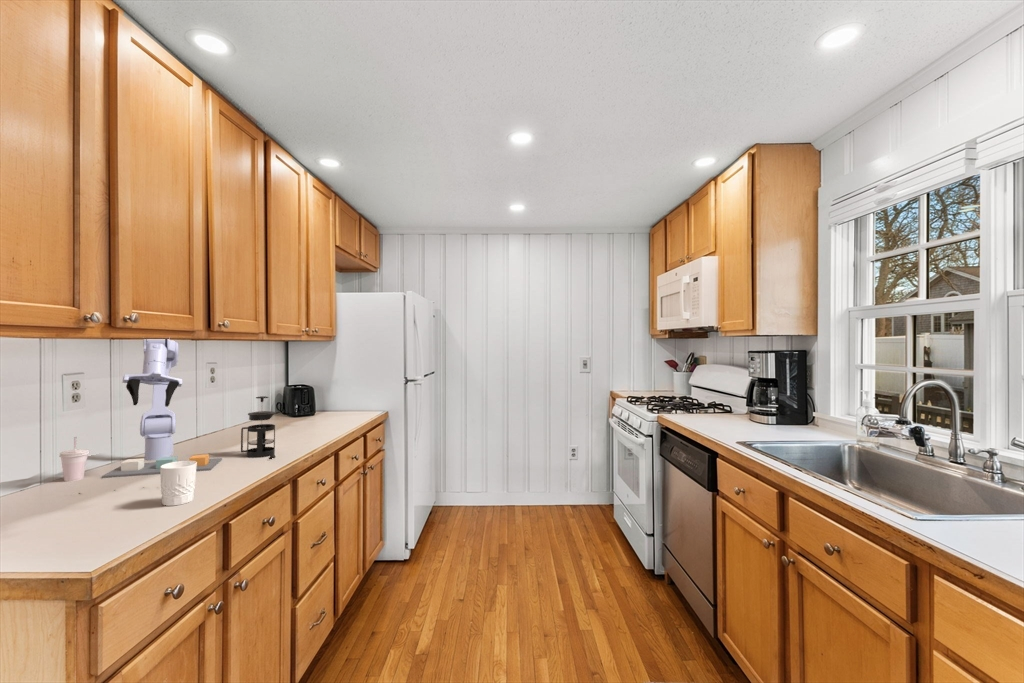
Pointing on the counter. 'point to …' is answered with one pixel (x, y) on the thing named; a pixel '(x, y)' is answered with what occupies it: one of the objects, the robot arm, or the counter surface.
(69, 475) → the smoothie
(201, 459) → the orange button
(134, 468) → the white button
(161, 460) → the teal button
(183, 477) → the white cup
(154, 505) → the counter surface
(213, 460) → the button panel
